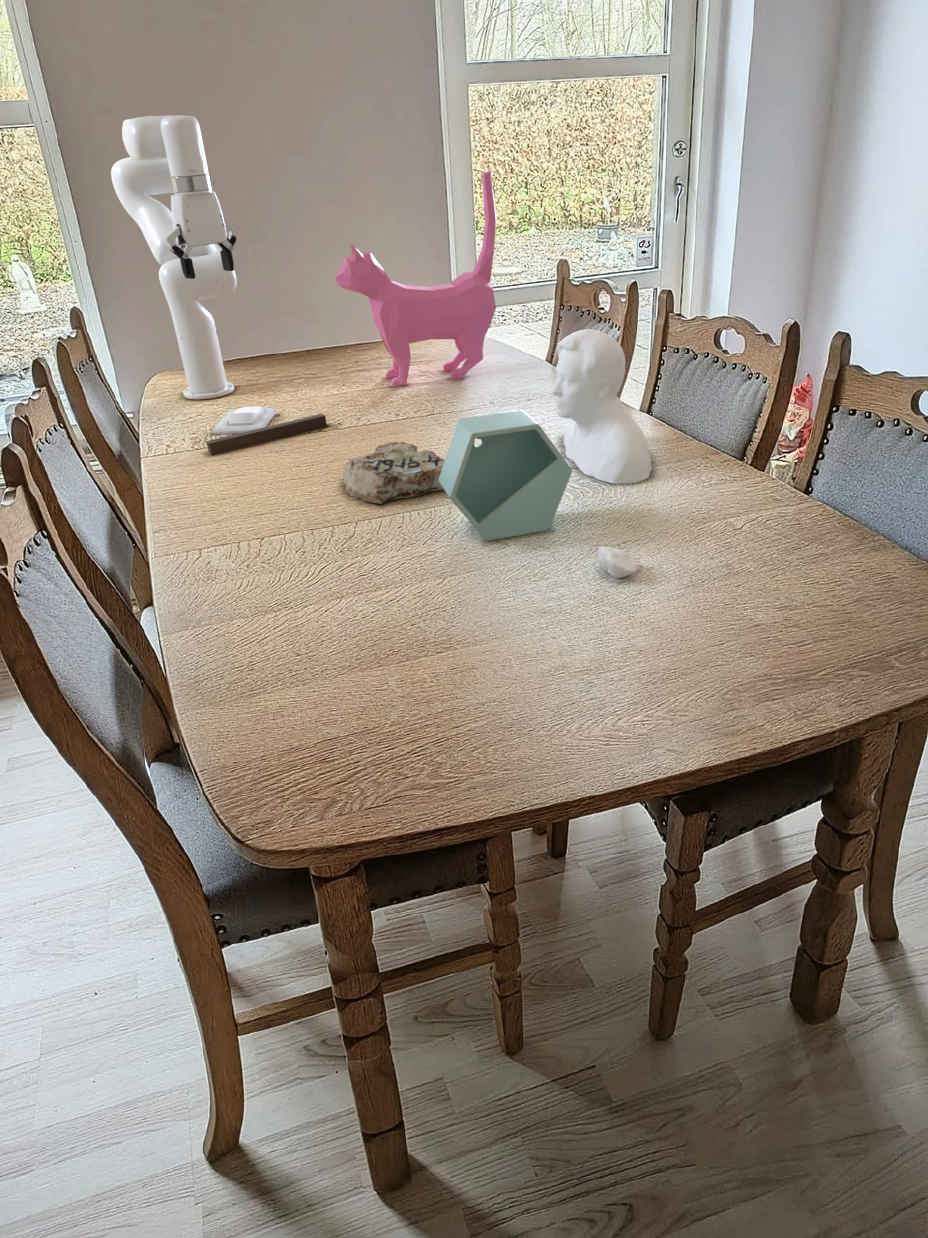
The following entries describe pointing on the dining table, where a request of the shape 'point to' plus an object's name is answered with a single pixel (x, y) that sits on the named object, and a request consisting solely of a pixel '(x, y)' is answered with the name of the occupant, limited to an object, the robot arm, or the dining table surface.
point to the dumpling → (616, 562)
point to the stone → (393, 473)
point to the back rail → (266, 434)
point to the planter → (504, 474)
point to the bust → (598, 410)
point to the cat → (429, 304)
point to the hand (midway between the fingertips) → (210, 274)
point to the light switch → (244, 420)
